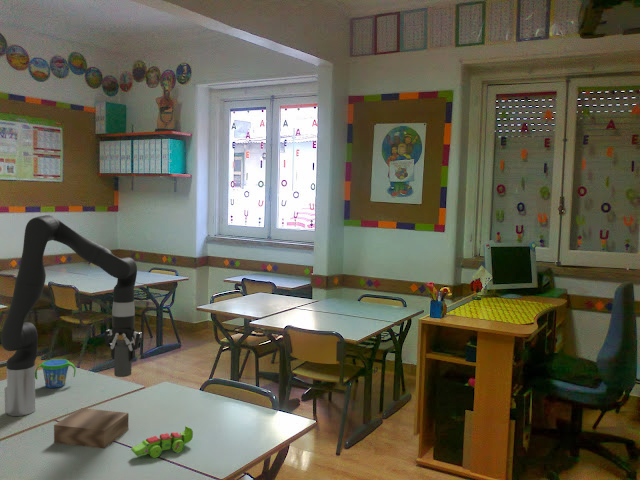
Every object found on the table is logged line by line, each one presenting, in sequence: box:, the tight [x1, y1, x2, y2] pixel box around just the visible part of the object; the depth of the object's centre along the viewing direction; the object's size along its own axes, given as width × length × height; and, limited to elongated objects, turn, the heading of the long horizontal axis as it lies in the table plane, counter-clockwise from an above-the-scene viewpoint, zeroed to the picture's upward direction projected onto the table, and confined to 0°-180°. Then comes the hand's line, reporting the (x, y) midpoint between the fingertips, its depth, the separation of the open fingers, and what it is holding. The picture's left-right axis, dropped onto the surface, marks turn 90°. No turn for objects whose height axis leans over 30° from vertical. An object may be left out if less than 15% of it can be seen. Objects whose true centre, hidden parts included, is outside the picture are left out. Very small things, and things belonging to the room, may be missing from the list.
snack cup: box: [35, 358, 77, 389], centre depth 233 cm, size 16×10×10 cm
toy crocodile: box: [130, 425, 194, 459], centre depth 176 cm, size 20×7×6 cm, turn 125°
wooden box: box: [53, 407, 129, 449], centre depth 186 cm, size 18×15×6 cm
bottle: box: [113, 334, 133, 378], centre depth 198 cm, size 6×6×15 cm
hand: (123, 359), depth 198 cm, fingers closed on bottle, 6 cm apart
